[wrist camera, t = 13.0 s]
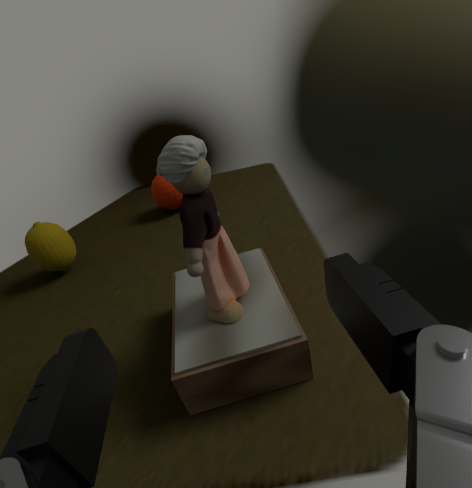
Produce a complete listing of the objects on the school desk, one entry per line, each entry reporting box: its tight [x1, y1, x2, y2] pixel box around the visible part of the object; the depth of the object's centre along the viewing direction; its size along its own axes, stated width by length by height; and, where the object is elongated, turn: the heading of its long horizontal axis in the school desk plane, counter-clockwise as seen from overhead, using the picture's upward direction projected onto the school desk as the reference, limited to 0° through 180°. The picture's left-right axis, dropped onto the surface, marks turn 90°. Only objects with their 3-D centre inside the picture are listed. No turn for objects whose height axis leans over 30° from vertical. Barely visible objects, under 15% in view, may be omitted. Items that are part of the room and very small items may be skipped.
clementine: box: [151, 175, 183, 210], centre depth 53 cm, size 8×7×7 cm
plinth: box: [171, 248, 313, 416], centre depth 25 cm, size 9×12×4 cm
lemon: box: [25, 222, 76, 271], centre depth 41 cm, size 6×6×8 cm
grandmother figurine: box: [156, 135, 250, 323], centre depth 21 cm, size 8×4×13 cm, turn 6°
